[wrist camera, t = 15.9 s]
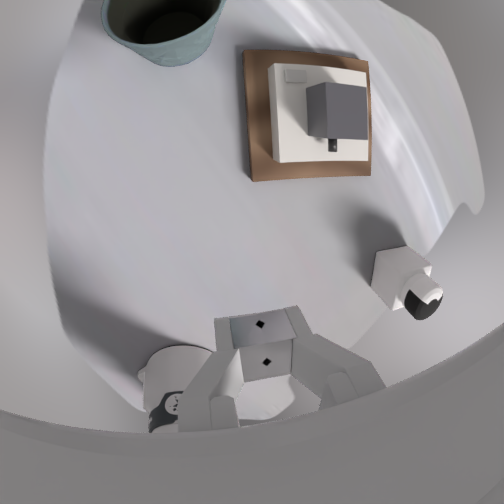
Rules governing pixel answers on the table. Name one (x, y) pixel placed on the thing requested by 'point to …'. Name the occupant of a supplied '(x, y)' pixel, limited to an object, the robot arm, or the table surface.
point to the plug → (337, 112)
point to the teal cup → (163, 27)
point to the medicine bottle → (406, 282)
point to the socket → (295, 114)
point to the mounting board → (261, 117)
